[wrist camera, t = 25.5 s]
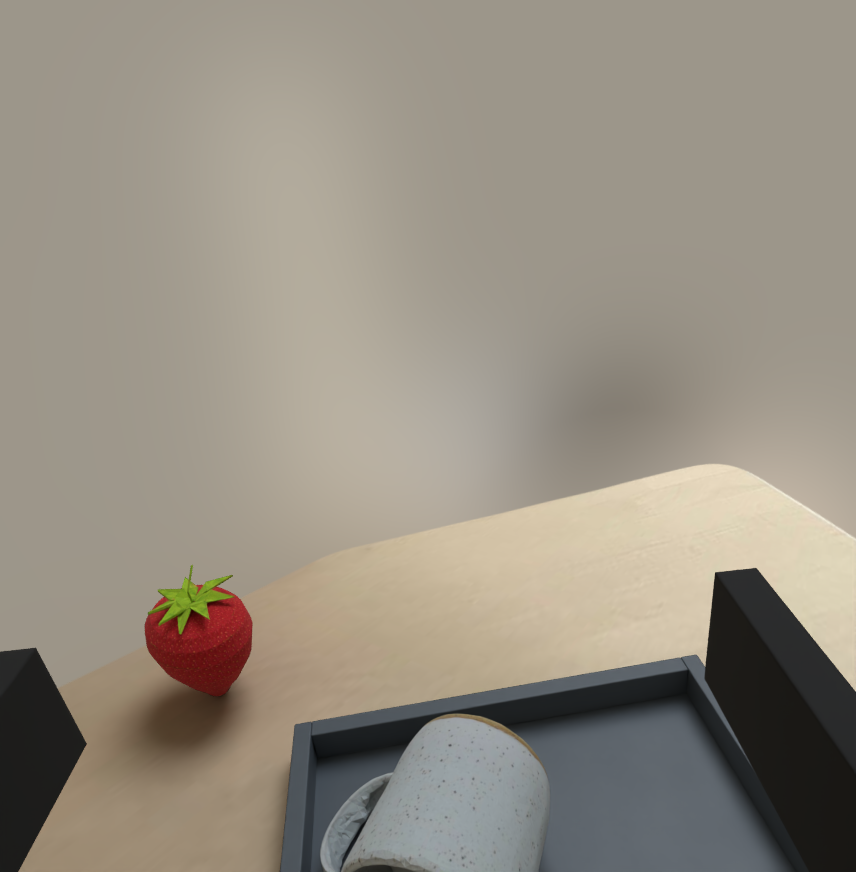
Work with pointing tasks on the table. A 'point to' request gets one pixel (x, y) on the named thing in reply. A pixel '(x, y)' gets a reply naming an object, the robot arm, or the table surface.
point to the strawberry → (200, 635)
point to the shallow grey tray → (576, 772)
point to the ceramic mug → (448, 806)
